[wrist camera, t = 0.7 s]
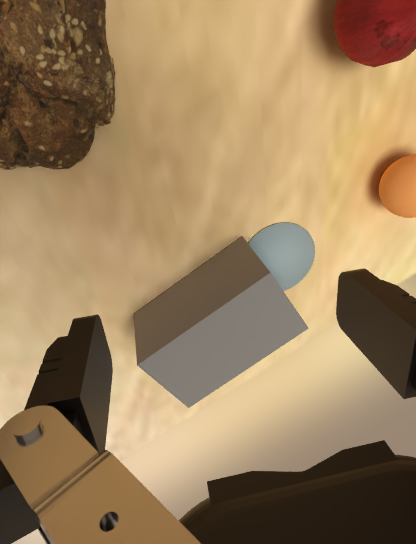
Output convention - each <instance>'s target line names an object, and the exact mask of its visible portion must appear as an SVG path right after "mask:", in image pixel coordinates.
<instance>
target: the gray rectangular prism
mask: <svg viewBox="0 0 416 544" xmlns="http://www.w3.org/2000/svg"><path fill="white" fill-rule="evenodd" d="M134 326H135V340H136V354H137V365H138V366H139V367H140V368H141V369H142V370H144V371H145V372H146V373H147V374H148V375H150V376H151V377H152V378H153V379H154V380H156V381H157V382H158V383H159V384H160V385H162V386H163V387H164V388H165V389H167V390H168V391H169V392H170V393H171V394H173V395H174V396H175V397H176V398H177V399H179V400H180V401H181V402H182V403H183V404H185V405H186V406H187V407H188V408H189V407H191V406H192V405H194V404H195V403H197V402H198V401H200V400H201V399H203V398H204V397H206V396H207V395H209V394H210V393H212V392H213V391H215V390H216V389H218V388H219V387H221V386H223V385H224V384H226V383H227V382H229V381H230V380H232V379H233V378H235V377H236V376H238V375H239V374H241V373H242V372H244V371H245V370H247V369H248V368H250V367H251V366H253V365H254V364H256V363H257V362H259V361H260V360H262V359H263V358H265V357H266V356H268V355H269V354H271V353H272V352H274V351H275V350H277V349H278V348H280V347H281V346H283V345H284V344H286V343H287V342H289V341H290V340H292V339H293V338H295V337H296V336H298V335H299V334H301V333H302V332H304V331H305V330H307V329H308V327H307V325H306V324H305V322H304V321H303V319H302V318H301V316H300V315H299V313H298V312H297V311H296V309H295V308H294V306H293V305H292V303H291V302H290V300H289V299H288V297H287V296H286V294H285V293H284V292H283V290H282V289H281V287H280V286H279V284H278V283H277V281H276V280H275V278H274V277H273V275H272V274H271V272H270V271H269V270H268V269H267V267H266V266H265V265H264V264H263V262H262V261H261V260H260V258H259V257H258V256H257V255H256V253H255V252H254V251H253V249H252V248H251V247H250V246H249V244H248V243H247V242H246V240H245V239H244V238H243V237H240V238H239V239H238V240H236V241H235V242H233V243H232V244H231V245H229V246H228V247H226V248H225V249H224V250H222V251H221V252H219V253H218V254H217V255H215V256H214V257H212V258H211V259H210V260H208V261H207V262H205V263H204V264H203V265H201V266H200V267H198V268H197V269H196V270H194V271H193V272H191V273H190V274H189V275H187V276H186V277H184V278H183V279H182V280H180V281H179V282H177V283H176V284H175V285H173V286H172V287H170V288H169V289H168V290H166V291H165V292H163V293H162V294H161V295H159V296H158V297H157V298H155V299H154V300H152V301H151V302H150V303H148V304H147V305H145V306H144V307H143V308H141V309H140V310H138V311H137V312H136V313H134Z"/></svg>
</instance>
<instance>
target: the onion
mask: <svg viewBox="0 0 416 544" xmlns="http://www.w3.org/2000/svg"><path fill="white" fill-rule="evenodd" d="M334 31H335V34H336V38H337V41H338V44H339V46H340V48H341V49H342V50H343V51H344V52H345V53H346V55H347V56H348V57H349V58H350V59H351V60H352V61H355V62H358V63H361V64H364V65H367V66H371V67H377V66H380V65H384V64H388V63H391V62H395V61H399V60H402V59H404V58H405V57H407V56H408V55H410V54H411V53H412V52H413V51H414V50H415V49H416V0H338V1H337V5H336V8H335V11H334Z"/></svg>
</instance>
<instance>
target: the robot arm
mask: <svg viewBox="0 0 416 544" xmlns="http://www.w3.org/2000/svg"><path fill="white" fill-rule="evenodd" d="M336 316H337V320H338V323H339V326H340V328H341V329H342V330H343V331H344V333H345V334H346V335H347V336H348V337H349V338H350V339H351V340H352V342H353V343H354V344H355V345H356V346H357V347H358V348H359V349H360V351H361V352H362V353H363V354H364V355H365V356H366V357H367V358H368V359H369V361H370V362H371V363H372V364H373V365H374V366H375V367H376V368H377V370H378V371H379V372H380V373H381V374H382V375H383V376H384V377H385V378H386V380H387V381H388V382H389V383H390V384H391V385H392V386H393V388H394V389H395V390H396V391H397V392H398V393H399V394H400V395H401V396H402V398H404V399H407V398H411V397H416V298H414V297H412V296H409V294H408V293H407V292H406V291H404V290H403V289H401V288H400V287H399V286H397V285H394V284H391V283H389V282H386V281H384V280H380V279H379V278H377V277H376V276H374V275H373V274H372V273H370V272H369V271H368V270H366V269H358V270H353V271H347V272H342V273H341V274H340V276H339V279H338V293H337V308H336ZM42 362H43V364H41V367H40V369H39V374H38V375H37V377H36V380H35V383H34V385H33V388H32V391H31V393H30V396H29V399H28V401H27V404H26V407H25V409H24V411H22V412H20V413H18V414H17V415H15V416H14V417H12V418H11V419H10V420H9V421H7V422H6V423H5V424H4V426H3V427H2V428H1V429H0V544H11V543H13V542H15V541H17V540H18V539H20V538H22V537H24V536H26V535H27V534H29V533H31V532H33V531H34V530H36V529H38V530H39V532H40V534H41V535H42V537H43V539H44V540H45V542H46V544H416V458H414V457H409V456H402V455H394V453H393V452H392V450H391V449H390V448H389V446H388V445H387V443H386V442H385V441H384V440H383V441H379V442H375V443H371V444H366V445H362V446H358V447H353V448H349V449H345V450H342V451H340V452H338V453H336V454H335V455H333V456H331V457H329V458H327V459H326V460H324V461H322V462H321V463H318V464H317V465H315V466H313V467H311V468H310V469H308V470H306V471H302V472H275V471H251V472H246V473H242V474H238V475H234V476H229V477H225V478H220V479H216V480H212V481H208V482H207V485H208V491H209V498H207V499H206V500H204V501H202V502H200V503H199V504H198V505H196V506H195V507H194V508H192V509H191V510H190V511H188V512H187V513H186V514H185V515H184V516H183V517H182V518H181V519H180V520H179V521H178V520H177V519H176V518H175V517H174V516H173V515H172V514H171V513H170V512H169V511H168V510H167V509H166V508H165V507H164V506H163V505H162V504H161V503H160V502H159V501H158V500H157V499H156V497H155V496H153V495H152V493H151V492H149V491H148V490H147V489H146V487H144V486H143V484H142V483H140V481H139V480H138V479H137V478H136V477H135V476H134V475H133V474H132V473H131V472H130V471H129V470H128V469H127V468H126V467H125V466H124V465H123V464H122V463H121V462H120V461H119V460H118V459H117V458H116V457H115V456H114V455H113V454H112V453H110V452H109V451H107V450H105V443H106V433H107V423H108V413H109V403H110V393H111V383H112V372H113V370H112V359H111V354H110V350H109V347H108V343H107V340H106V336H105V333H104V329H103V325H102V322H101V319H100V317H99V315H93V316H87V317H81V318H75V319H73V321H72V324H71V327H70V331H69V334H68V336H64V337H59V338H57V339H56V340H55V341H54V342H53V344H52V345H51V346H50V347H49V348H48V349H47V351H46V353H45V356H44V359H43V361H42Z"/></svg>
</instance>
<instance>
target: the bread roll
mask: <svg viewBox="0 0 416 544" xmlns="http://www.w3.org/2000/svg"><path fill="white" fill-rule="evenodd" d="M105 8H106V1H105V0H0V168H2V169H14V168H16V167H27V166H28V167H30V168H32V167H35V166H43V167H47V168H50V169H68V168H71V167H72V166H73V165H75V164H76V163H77V162H79V161H82V159H83V158H84V157H85V156H86V154H87V153H88V151H89V149H90V147H91V144H92V142H93V139H94V129H95V127H96V128H98V126H99V125H104V124H109V123H110V119H111V117H112V116H113V114H114V102H115V88H114V78H115V70H114V64H113V59H112V58H111V57H110V55H109V51H108V46H107V41H106V31H105Z"/></svg>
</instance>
